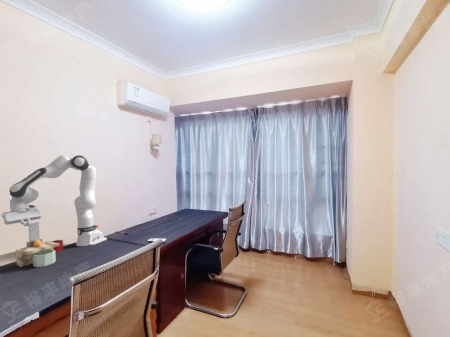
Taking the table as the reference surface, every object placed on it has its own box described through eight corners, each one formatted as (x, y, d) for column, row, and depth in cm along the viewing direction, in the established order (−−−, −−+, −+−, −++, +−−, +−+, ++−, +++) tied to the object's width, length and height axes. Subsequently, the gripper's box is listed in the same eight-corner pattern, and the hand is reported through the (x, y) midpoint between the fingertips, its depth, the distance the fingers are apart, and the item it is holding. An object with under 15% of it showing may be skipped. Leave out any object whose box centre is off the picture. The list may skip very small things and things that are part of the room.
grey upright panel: (40, 243, 157) (40, 221, 157) (42, 243, 156) (41, 221, 156) (26, 246, 150) (25, 224, 150) (28, 247, 149) (27, 224, 149)
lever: (55, 248, 178) (55, 239, 178) (66, 248, 176) (66, 240, 176) (32, 257, 160) (32, 247, 160) (43, 257, 158) (43, 248, 158)
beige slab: (48, 255, 162) (48, 241, 162) (59, 258, 156) (59, 243, 156) (16, 265, 146) (16, 249, 146) (27, 269, 140) (27, 252, 140)
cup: (49, 259, 155) (49, 248, 155) (58, 261, 150) (57, 250, 150) (30, 265, 146) (30, 254, 146) (39, 268, 141) (38, 256, 141)
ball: (39, 245, 154) (39, 239, 154) (42, 245, 152) (42, 239, 152) (32, 247, 151) (32, 240, 151) (35, 247, 149) (35, 241, 149)
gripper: (1, 210, 152) (9, 226, 147) (38, 205, 170) (45, 219, 165) (-1, 216, 154) (6, 232, 149) (35, 210, 172) (42, 224, 167)
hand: (27, 225), depth 157 cm, fingers closed
